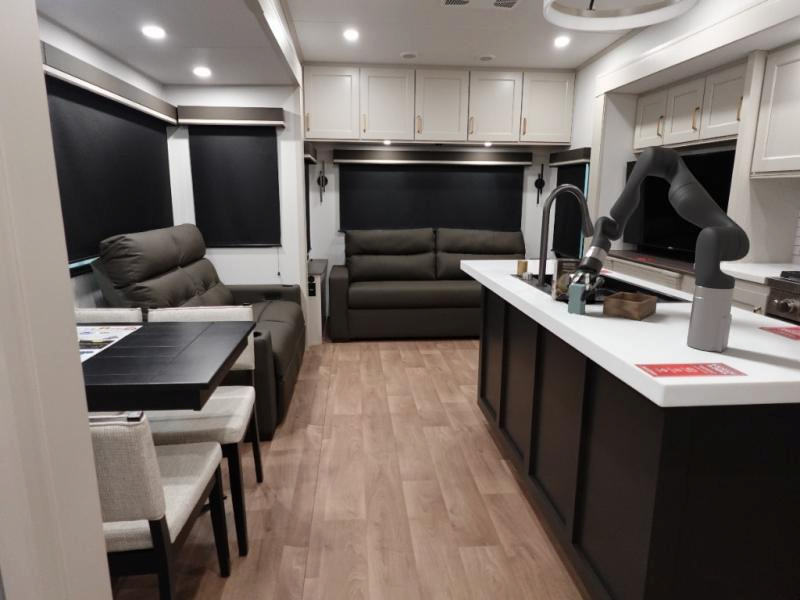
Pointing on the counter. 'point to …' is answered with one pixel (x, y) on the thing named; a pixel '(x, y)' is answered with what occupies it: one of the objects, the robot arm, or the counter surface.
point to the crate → (629, 306)
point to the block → (576, 299)
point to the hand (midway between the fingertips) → (575, 299)
